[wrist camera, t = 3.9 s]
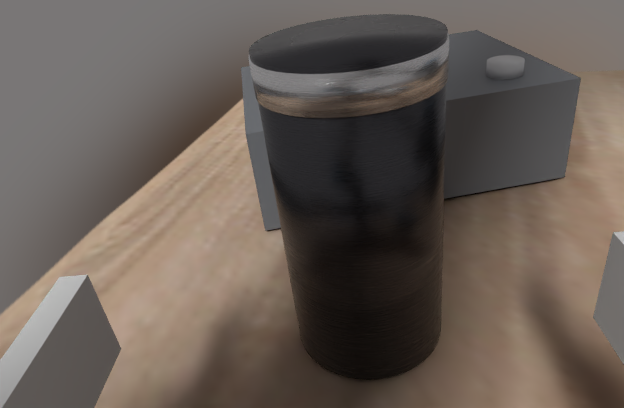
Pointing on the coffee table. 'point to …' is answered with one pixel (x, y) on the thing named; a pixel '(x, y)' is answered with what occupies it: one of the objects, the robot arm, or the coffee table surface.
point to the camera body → (473, 121)
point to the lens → (359, 183)
